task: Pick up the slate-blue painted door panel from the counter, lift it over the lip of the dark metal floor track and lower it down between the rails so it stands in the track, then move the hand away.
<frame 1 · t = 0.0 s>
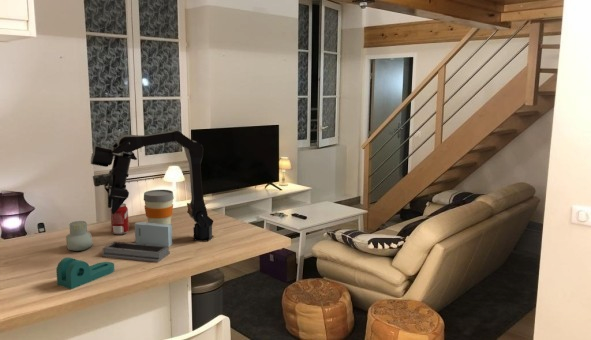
hand: (111, 210, 180), 15 cm above the table, tool pointing down, fingers open, 9 cm apart
reusable coffee cup: (159, 226, 215), on the table
bracket: (89, 278, 159), on the table
soda can: (120, 233, 204), on the table
door panel: (153, 244, 192), on the table
air freshener: (79, 249, 185), on the table
floor track: (136, 255, 179), on the table
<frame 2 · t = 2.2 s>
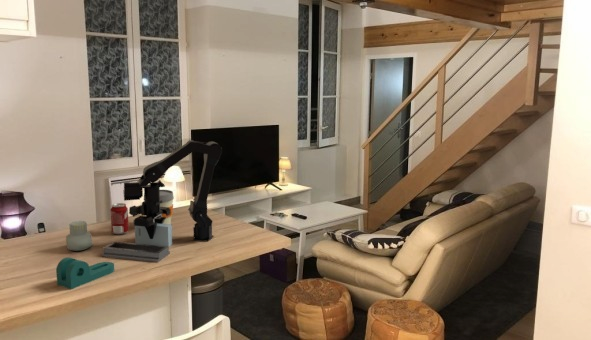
hand: (153, 237, 191), 3 cm above the table, tool pointing down, fingers closed on door panel, 3 cm apart
door panel: (153, 244, 192), on the table, touching gripper
everything else where it was.
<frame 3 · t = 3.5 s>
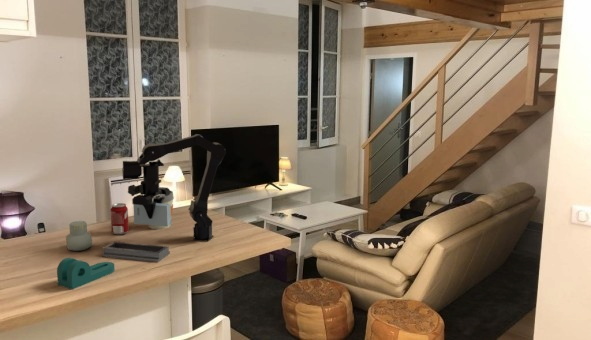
hand: (152, 217, 190), 11 cm above the table, tool pointing down, fingers closed on door panel, 3 cm apart
door panel: (152, 223, 190), point 8 cm above the table, touching gripper
everything else where it was.
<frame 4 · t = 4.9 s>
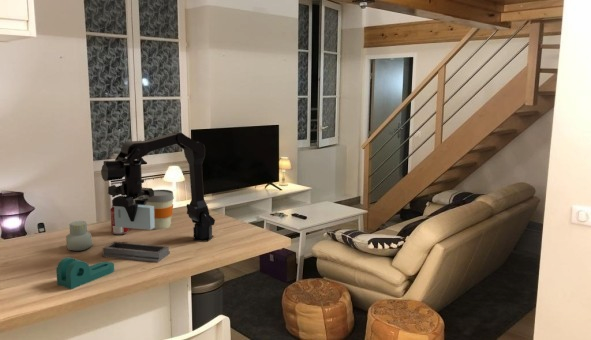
hand: (134, 220, 177), 13 cm above the table, tool pointing down, fingers closed on door panel, 3 cm apart
door panel: (134, 226, 177), point 11 cm above the table, touching gripper
everything else where it was.
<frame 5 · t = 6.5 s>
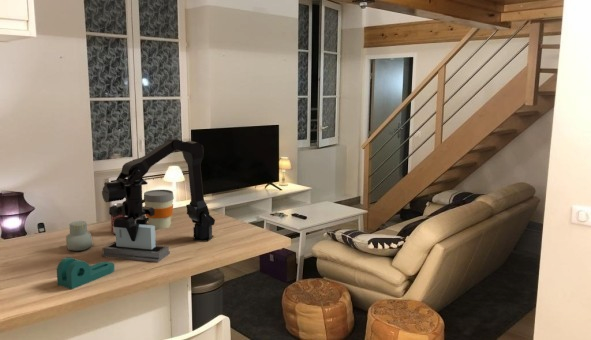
hand: (135, 239, 178), 6 cm above the table, tool pointing down, fingers closed on door panel, 3 cm apart
door panel: (135, 246, 179), point 3 cm above the table, touching gripper
everything else where it was.
when the fingers open (4 cm above the table, at t = 7.5 s): door panel stays where it is, resting on floor track.
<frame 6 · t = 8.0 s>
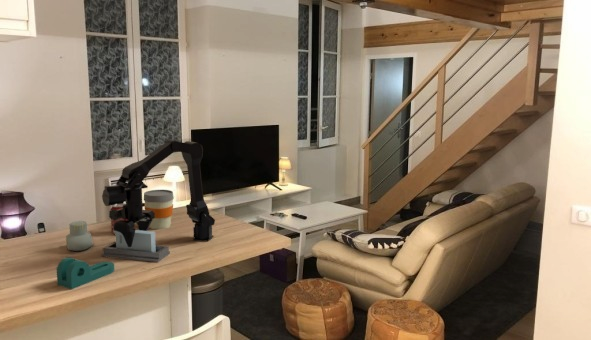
hand: (135, 243, 178), 4 cm above the table, tool pointing down, fingers open, 8 cm apart
door panel: (136, 252, 179), point 1 cm above the table, touching floor track
everything else where it was.
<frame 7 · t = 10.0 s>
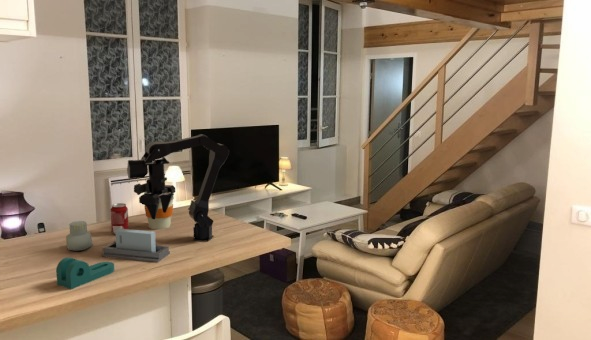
hand: (159, 215, 189), 12 cm above the table, tool pointing down, fingers open, 9 cm apart
nothing on the table moved.
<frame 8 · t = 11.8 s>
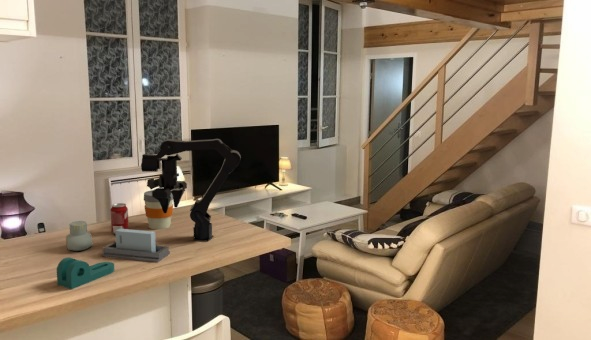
hand: (170, 210, 195), 12 cm above the table, tool pointing down, fingers open, 9 cm apart
nothing on the table moved.
at the end: door panel inside the target area on the floor track (0.1 cm from its centre), point 1.0 cm above the floor track's base; door panel tilted 0°; the gripper is holding nothing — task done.
